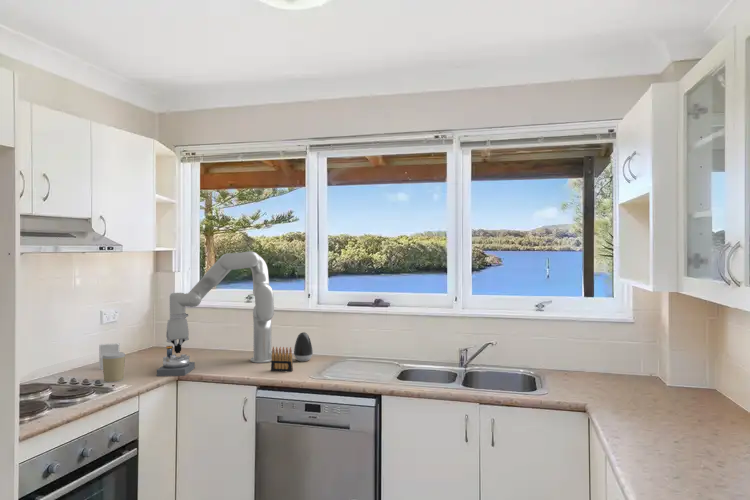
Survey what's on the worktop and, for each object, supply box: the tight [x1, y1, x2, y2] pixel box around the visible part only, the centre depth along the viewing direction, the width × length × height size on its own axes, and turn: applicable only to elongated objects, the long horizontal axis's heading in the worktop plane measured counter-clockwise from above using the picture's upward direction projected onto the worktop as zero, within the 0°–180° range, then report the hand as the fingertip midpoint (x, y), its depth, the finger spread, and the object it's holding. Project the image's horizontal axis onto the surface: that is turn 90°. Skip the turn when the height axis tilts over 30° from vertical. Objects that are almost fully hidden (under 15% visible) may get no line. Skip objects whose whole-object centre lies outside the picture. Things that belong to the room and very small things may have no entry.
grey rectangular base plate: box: [156, 361, 196, 377], centre depth 241 cm, size 13×16×3 cm
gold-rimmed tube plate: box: [162, 345, 190, 368], centre depth 243 cm, size 18×12×8 cm, turn 40°
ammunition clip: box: [270, 346, 294, 373], centre depth 243 cm, size 11×2×12 cm, turn 82°
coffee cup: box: [102, 351, 126, 383], centre depth 225 cm, size 9×9×12 cm
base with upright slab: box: [98, 342, 120, 371], centre depth 249 cm, size 9×9×12 cm
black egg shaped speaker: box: [293, 331, 314, 362], centre depth 267 cm, size 10×10×15 cm
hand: (177, 352), depth 251 cm, fingers closed
